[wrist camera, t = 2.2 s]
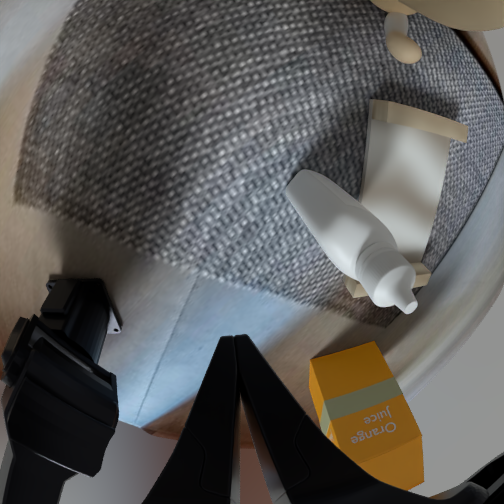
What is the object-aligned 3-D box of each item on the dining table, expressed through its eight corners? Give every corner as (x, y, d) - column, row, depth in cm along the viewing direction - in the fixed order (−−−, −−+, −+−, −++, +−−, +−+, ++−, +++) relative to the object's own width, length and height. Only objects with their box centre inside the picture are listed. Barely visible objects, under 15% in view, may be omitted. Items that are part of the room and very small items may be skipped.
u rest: (414, 271, 25) (426, 285, 23) (342, 280, 24) (353, 297, 22) (448, 120, 17) (468, 126, 15) (369, 98, 16) (388, 100, 14)
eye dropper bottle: (333, 154, 18) (453, 232, 8) (351, 218, 21) (442, 321, 11) (278, 177, 18) (357, 284, 8) (303, 239, 21) (370, 363, 11)
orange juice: (309, 359, 30) (359, 513, 13) (375, 339, 31) (440, 474, 14) (308, 388, 35) (345, 514, 18) (365, 371, 35) (413, 485, 18)
